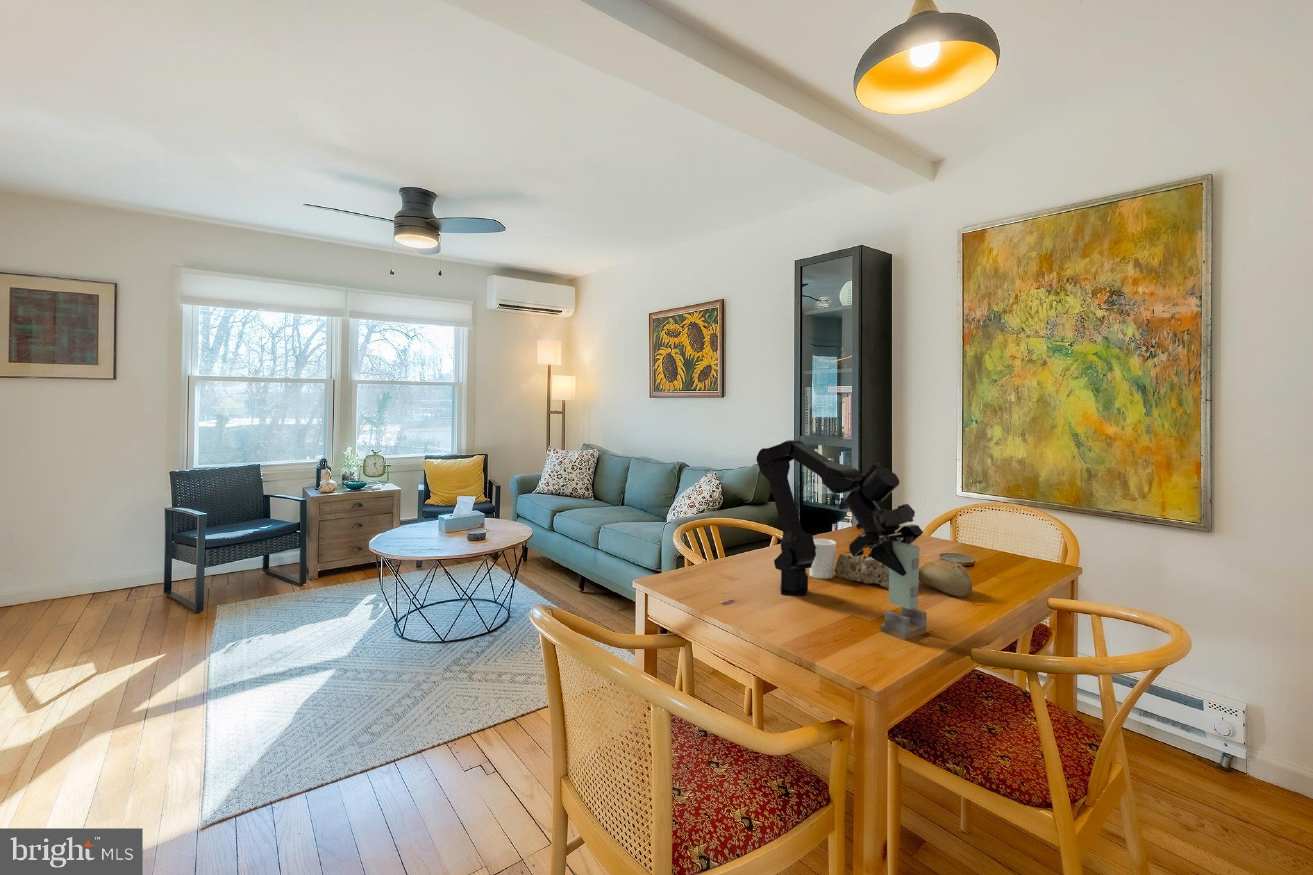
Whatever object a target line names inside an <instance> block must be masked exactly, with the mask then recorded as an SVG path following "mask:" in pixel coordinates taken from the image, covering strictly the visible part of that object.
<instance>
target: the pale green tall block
mask: <svg viewBox="0 0 1313 875" xmlns="http://www.w3.org/2000/svg"><path fill="white" fill-rule="evenodd" d="M893 551H894V552H895V554H896V556H897V557H898V559H899V561H900V562H901V564H902V566H903V567H904V569H905V571H906V574H905V575H904V576H901V575H900V574H898V573H897V572H895V571H893V570H892V569H890V568H889V589H888V603H889V604H892V605H895V606H898V607H901V608H902V607H904V608H906V609H912V608H915V609H916V608H918V607H919V568H920V546H918V545H914V544H906V543H902V542H895V543H893Z"/></svg>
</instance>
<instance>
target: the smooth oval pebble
mask: <svg viewBox="0 0 1313 875" xmlns="http://www.w3.org/2000/svg"><path fill="white" fill-rule="evenodd" d="M918 583H921V584H923V585H926V586H928V587H931V588H933V589H936V590H938V591H942V592H943V593H946V594H948V595H950V596H953V597H957V598H966V597H968V596H969V595H971V593H972V590H973V584H972V580H971V577H970V575H969V572H968V570H967V569H966V567H964V566H963V565H962V564H960V563H959V562H956V561H953V560H949V559H943V558H941V559H936V560H935V559H934V560H931V561H927V562H926V563H924V564H923V565H921V566H919V581H918Z"/></svg>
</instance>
